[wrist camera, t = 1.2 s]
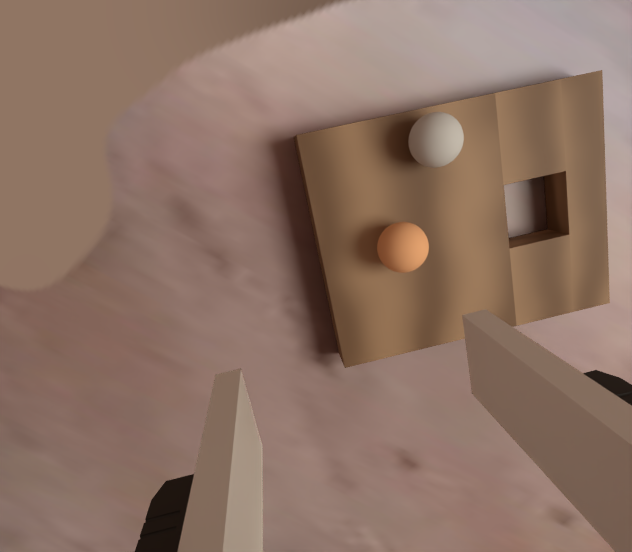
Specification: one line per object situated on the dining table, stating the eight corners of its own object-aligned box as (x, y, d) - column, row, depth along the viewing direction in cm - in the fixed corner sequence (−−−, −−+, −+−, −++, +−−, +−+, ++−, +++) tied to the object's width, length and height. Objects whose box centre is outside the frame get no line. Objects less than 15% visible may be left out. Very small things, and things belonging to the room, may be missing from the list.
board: (339, 353, 34) (344, 367, 32) (293, 137, 30) (296, 135, 28) (586, 293, 35) (609, 302, 33) (575, 77, 31) (602, 70, 29)
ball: (376, 271, 30) (389, 283, 27) (368, 224, 29) (380, 232, 26) (421, 260, 30) (439, 271, 27) (415, 214, 30) (432, 220, 27)
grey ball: (405, 172, 29) (423, 173, 26) (398, 120, 28) (415, 115, 25) (453, 161, 29) (476, 161, 26) (447, 109, 28) (470, 103, 25)
